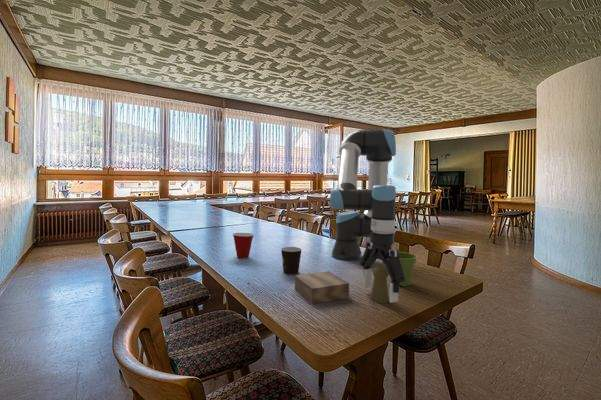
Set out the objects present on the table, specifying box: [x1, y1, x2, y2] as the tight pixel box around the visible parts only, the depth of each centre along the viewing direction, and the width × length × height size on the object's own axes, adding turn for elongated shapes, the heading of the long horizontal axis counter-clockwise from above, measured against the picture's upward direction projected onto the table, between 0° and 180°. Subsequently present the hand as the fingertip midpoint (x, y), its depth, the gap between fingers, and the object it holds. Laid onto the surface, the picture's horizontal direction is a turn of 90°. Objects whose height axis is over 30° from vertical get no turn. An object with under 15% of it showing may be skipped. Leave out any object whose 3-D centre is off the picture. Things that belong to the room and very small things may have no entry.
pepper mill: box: [370, 266, 390, 304], centre depth 103 cm, size 6×6×11 cm
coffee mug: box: [280, 246, 303, 275], centre depth 132 cm, size 12×9×10 cm
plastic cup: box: [232, 232, 255, 259], centre depth 154 cm, size 11×11×12 cm
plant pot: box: [388, 251, 419, 287], centre depth 120 cm, size 12×12×11 cm
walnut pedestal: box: [294, 271, 350, 304], centre depth 108 cm, size 14×14×5 cm
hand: (379, 294), depth 103 cm, fingers open, 13 cm apart
